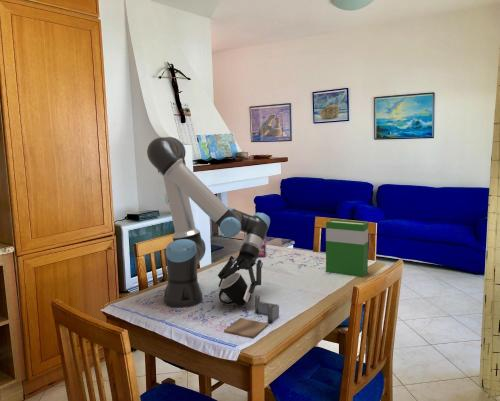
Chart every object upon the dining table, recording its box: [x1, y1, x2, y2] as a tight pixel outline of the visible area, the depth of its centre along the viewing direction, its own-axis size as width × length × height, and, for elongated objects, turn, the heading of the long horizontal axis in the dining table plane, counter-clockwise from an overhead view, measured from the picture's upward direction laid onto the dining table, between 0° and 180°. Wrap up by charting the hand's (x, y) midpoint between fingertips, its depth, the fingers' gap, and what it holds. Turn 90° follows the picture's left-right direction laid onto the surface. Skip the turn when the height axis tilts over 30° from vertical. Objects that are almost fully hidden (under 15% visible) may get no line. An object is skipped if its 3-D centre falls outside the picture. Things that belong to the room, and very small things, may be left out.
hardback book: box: [325, 218, 369, 278], centre depth 206 cm, size 18×7×24 cm, turn 60°
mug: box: [218, 272, 252, 307], centre depth 168 cm, size 12×9×10 cm
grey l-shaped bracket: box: [254, 295, 280, 324], centre depth 158 cm, size 10×8×6 cm
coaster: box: [223, 317, 269, 339], centre depth 149 cm, size 11×11×1 cm
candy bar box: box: [243, 232, 267, 258], centre depth 237 cm, size 11×5×16 cm, turn 80°
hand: (232, 298), depth 166 cm, fingers closed on mug, 11 cm apart
